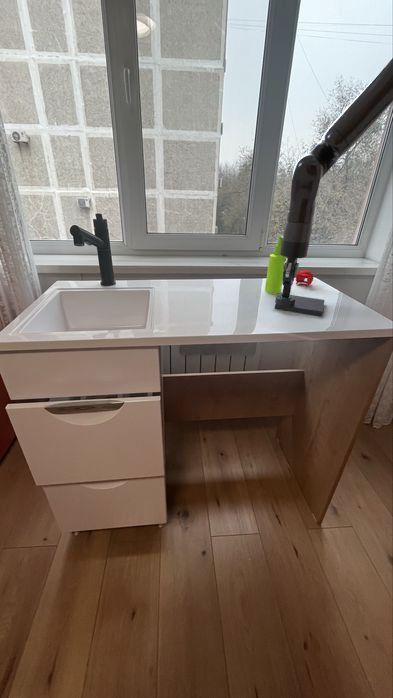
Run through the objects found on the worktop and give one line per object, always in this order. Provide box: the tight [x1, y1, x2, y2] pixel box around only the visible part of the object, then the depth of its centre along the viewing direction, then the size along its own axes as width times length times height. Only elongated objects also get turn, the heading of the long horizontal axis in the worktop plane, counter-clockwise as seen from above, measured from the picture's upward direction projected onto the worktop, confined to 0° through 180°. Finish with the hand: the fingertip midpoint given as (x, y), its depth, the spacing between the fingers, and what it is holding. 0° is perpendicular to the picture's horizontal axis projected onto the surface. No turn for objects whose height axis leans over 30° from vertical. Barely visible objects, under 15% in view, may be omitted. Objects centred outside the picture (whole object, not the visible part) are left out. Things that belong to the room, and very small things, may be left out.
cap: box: [295, 269, 314, 287], centre depth 114 cm, size 8×6×6 cm
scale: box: [274, 293, 326, 318], centre depth 92 cm, size 14×12×4 cm
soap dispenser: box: [264, 234, 287, 295], centre depth 102 cm, size 6×7×20 cm
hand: (285, 297), depth 90 cm, fingers closed
